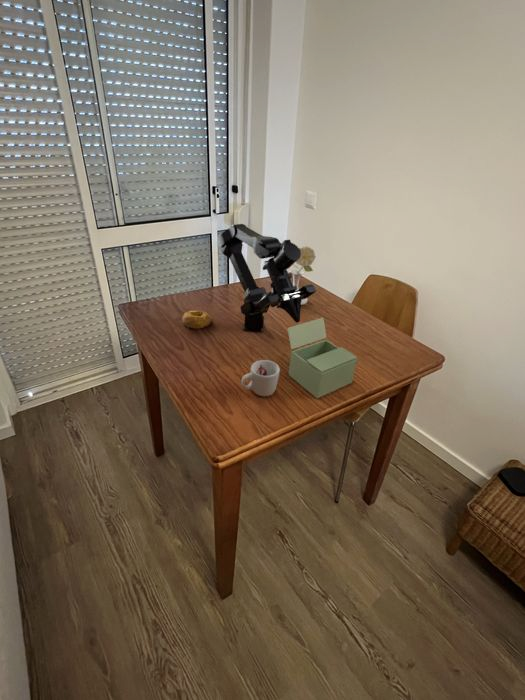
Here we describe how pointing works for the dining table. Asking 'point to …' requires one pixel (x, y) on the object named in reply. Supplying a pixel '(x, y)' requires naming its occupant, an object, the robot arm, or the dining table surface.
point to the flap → (306, 333)
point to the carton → (322, 367)
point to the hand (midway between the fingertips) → (298, 322)
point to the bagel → (196, 319)
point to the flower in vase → (304, 261)
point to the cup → (262, 377)
